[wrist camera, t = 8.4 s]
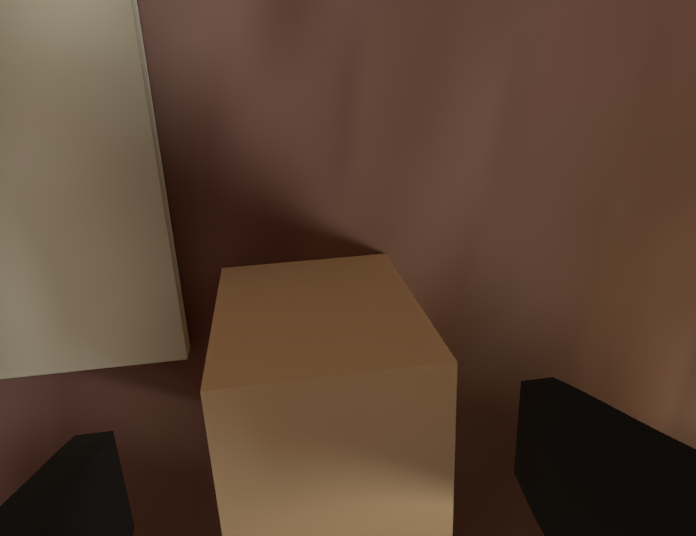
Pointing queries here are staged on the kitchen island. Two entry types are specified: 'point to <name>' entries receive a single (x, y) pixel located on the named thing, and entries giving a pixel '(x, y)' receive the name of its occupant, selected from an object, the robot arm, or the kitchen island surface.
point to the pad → (82, 195)
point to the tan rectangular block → (328, 403)
